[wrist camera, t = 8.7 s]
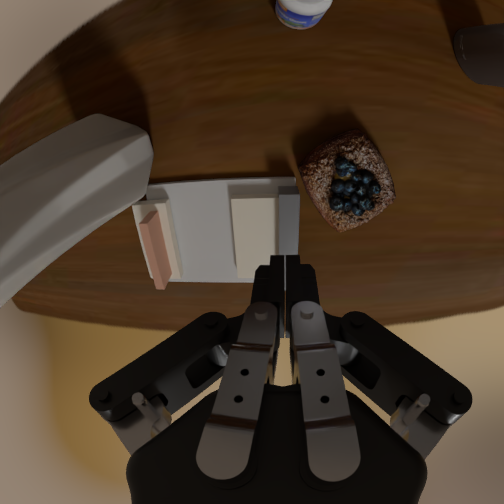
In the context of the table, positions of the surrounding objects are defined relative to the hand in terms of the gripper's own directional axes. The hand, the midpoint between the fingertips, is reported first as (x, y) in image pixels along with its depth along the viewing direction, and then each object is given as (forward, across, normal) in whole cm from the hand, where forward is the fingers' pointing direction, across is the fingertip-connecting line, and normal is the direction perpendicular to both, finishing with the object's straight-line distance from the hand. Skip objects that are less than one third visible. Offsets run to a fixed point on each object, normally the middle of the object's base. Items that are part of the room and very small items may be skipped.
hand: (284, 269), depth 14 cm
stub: (+20, +18, +9) cm, 28 cm away
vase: (+22, +20, -4) cm, 30 cm away
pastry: (+23, -8, +2) cm, 25 cm away
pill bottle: (+23, -3, -20) cm, 31 cm away
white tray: (+22, +9, +9) cm, 25 cm away
